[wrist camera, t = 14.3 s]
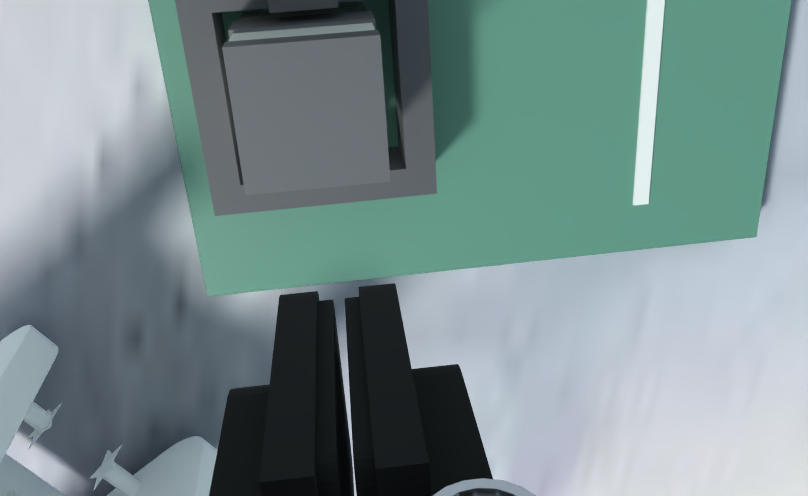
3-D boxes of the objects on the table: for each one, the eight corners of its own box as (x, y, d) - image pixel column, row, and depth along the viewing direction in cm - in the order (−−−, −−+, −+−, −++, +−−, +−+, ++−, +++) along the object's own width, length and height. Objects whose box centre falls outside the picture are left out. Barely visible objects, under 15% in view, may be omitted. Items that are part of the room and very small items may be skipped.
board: (741, 225, 32) (804, 275, 28) (210, 281, 31) (195, 344, 27) (802, -218, 25) (898, -238, 21) (121, -175, 24) (82, -187, 20)
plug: (375, 121, 28) (392, 181, 22) (256, 132, 27) (243, 195, 22) (366, 0, 26) (381, 32, 20) (238, 9, 25) (219, 45, 20)
